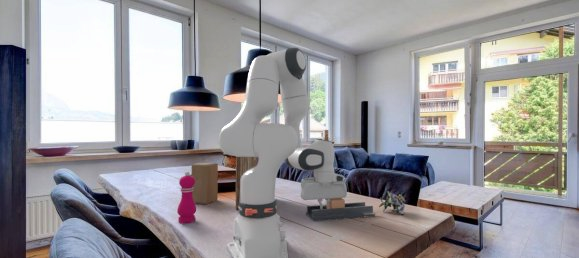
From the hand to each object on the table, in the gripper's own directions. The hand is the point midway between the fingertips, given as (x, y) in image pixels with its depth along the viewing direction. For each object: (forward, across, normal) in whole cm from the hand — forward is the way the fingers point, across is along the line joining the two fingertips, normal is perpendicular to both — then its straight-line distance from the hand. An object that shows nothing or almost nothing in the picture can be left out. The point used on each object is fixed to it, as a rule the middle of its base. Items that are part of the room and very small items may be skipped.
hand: (323, 208), depth 113 cm
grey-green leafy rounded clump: (+3, +32, -3) cm, 32 cm away
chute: (+3, +8, 0) cm, 8 cm away
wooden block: (+4, -52, +38) cm, 64 cm away
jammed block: (+2, +5, 0) cm, 6 cm away
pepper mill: (+4, -56, +8) cm, 57 cm away
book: (+4, -26, +28) cm, 39 cm away
